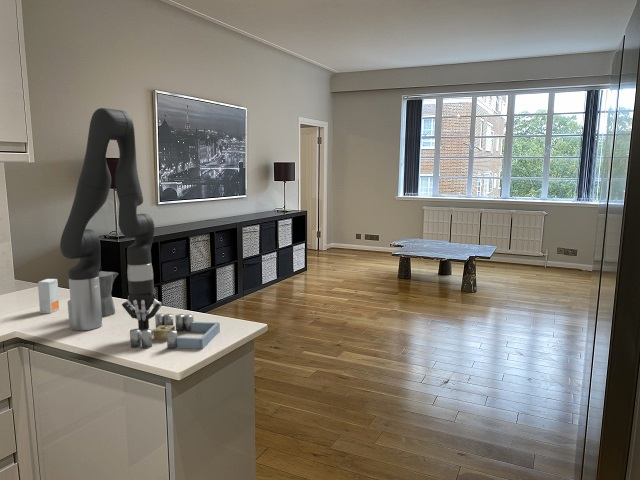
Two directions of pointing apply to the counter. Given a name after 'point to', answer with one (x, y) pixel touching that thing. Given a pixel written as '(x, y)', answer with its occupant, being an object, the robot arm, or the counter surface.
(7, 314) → the counter surface
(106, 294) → the coffeepot
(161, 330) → the yellow knobbed block
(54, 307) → the skincare box
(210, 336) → the parts bay
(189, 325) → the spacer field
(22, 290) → the counter surface
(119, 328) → the counter surface
